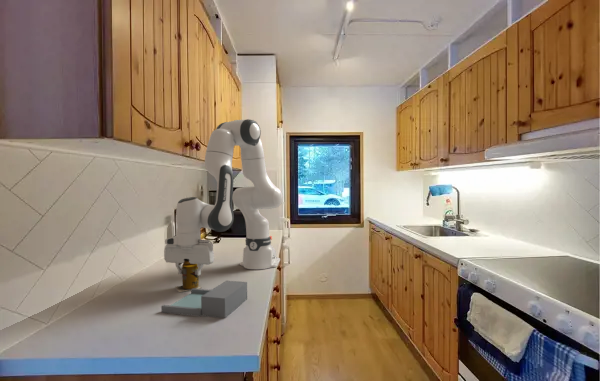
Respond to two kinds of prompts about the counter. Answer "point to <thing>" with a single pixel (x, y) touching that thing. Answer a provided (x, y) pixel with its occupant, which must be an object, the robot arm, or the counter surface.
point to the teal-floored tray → (211, 301)
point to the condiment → (189, 277)
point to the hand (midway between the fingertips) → (189, 274)
